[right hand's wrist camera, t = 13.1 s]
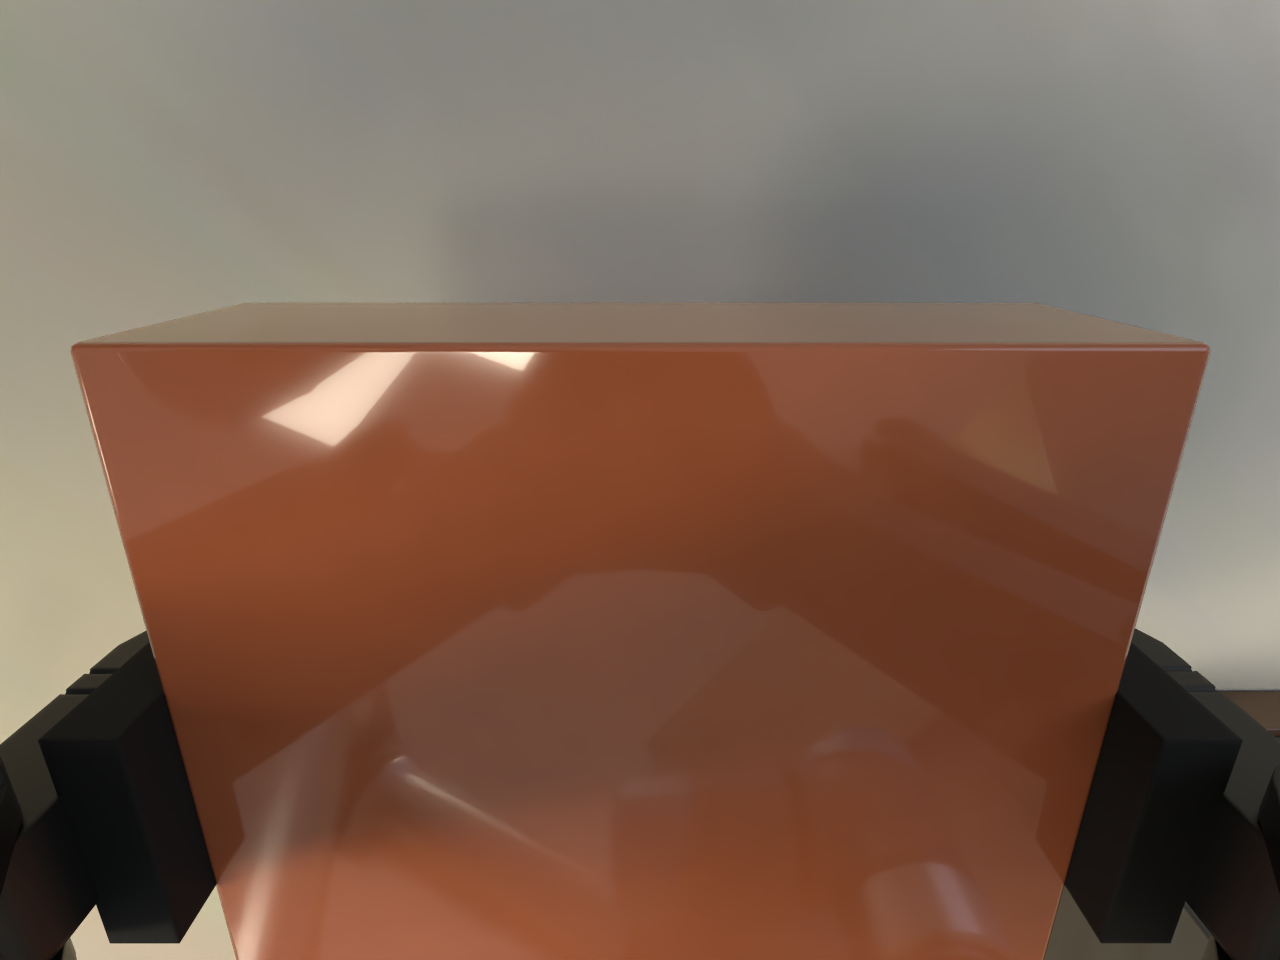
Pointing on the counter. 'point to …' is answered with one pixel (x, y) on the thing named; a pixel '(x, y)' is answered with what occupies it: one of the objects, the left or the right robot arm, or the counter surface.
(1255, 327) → the counter surface
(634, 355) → the glossy orange tile
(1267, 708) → the brown wooden desk organizer
